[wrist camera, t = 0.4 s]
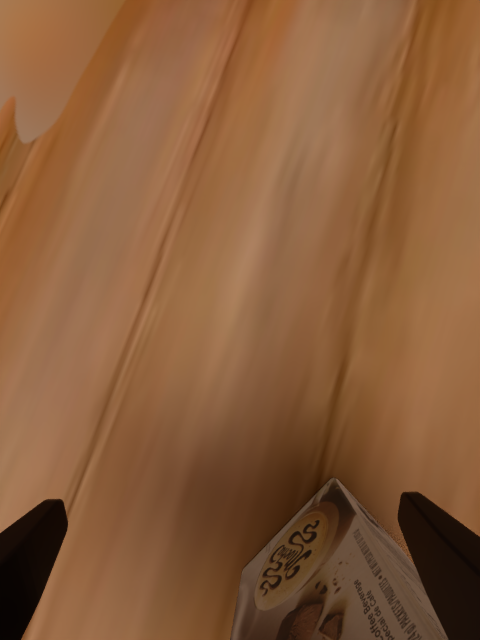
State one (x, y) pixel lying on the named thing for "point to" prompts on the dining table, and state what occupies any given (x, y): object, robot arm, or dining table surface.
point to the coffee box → (333, 580)
